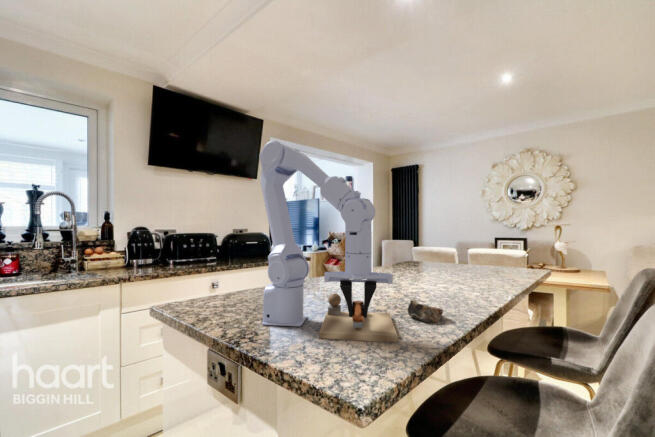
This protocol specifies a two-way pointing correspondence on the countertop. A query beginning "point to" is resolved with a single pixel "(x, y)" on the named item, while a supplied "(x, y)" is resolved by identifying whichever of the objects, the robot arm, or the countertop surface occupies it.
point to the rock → (424, 312)
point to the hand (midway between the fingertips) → (357, 316)
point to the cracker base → (342, 327)
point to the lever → (358, 313)
